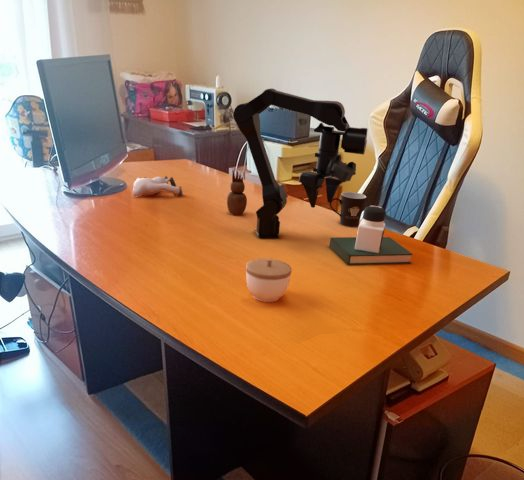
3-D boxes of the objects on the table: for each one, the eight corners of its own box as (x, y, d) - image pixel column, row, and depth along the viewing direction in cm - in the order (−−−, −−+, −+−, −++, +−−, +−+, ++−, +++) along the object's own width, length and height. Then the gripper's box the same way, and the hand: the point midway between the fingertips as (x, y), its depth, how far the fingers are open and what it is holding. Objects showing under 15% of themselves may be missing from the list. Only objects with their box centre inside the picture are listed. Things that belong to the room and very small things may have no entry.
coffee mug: (363, 222, 185) (368, 194, 180) (359, 229, 178) (364, 200, 173) (331, 217, 188) (335, 189, 183) (326, 223, 181) (330, 194, 176)
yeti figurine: (157, 188, 211) (115, 194, 197) (156, 171, 208) (113, 176, 194) (189, 195, 200) (148, 202, 186) (189, 177, 197) (146, 182, 183)
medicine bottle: (378, 254, 149) (387, 212, 143) (354, 249, 150) (361, 208, 144) (381, 246, 155) (389, 206, 149) (357, 242, 156) (364, 202, 150)
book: (347, 265, 148) (349, 255, 146) (329, 246, 160) (330, 237, 158) (410, 263, 153) (412, 253, 151) (387, 245, 165) (389, 236, 164)
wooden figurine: (224, 214, 181) (225, 169, 174) (230, 210, 186) (232, 167, 179) (241, 217, 180) (244, 173, 172) (248, 213, 184) (250, 170, 177)
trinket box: (267, 284, 132) (270, 248, 127) (297, 299, 125) (301, 262, 120) (235, 294, 125) (236, 257, 120) (265, 310, 119) (268, 272, 114)
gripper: (335, 158, 137) (327, 216, 145) (369, 152, 150) (359, 205, 158) (301, 151, 143) (295, 207, 151) (336, 145, 156) (329, 197, 164)
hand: (321, 204), depth 156 cm, fingers open, 9 cm apart
